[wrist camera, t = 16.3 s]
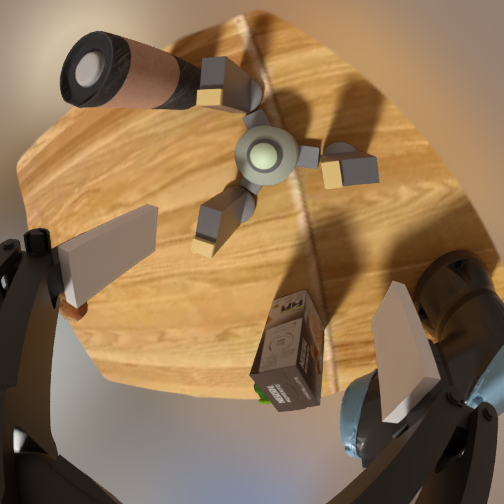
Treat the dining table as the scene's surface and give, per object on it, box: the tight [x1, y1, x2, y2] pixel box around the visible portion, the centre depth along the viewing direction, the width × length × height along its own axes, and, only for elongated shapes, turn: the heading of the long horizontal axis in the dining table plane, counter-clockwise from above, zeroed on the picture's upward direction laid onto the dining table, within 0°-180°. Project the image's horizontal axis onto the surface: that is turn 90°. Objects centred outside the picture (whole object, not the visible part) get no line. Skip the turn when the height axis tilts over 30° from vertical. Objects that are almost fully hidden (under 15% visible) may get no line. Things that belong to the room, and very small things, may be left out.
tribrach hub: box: [235, 109, 319, 195], centre depth 32 cm, size 12×11×7 cm
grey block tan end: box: [191, 186, 255, 258], centre depth 33 cm, size 5×5×12 cm
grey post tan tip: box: [196, 56, 263, 113], centre depth 27 cm, size 5×5×12 cm
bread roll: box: [59, 291, 87, 321], centre depth 58 cm, size 10×10×8 cm
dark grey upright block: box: [320, 142, 379, 189], centre depth 27 cm, size 5×5×12 cm
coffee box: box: [249, 290, 325, 412], centre depth 37 cm, size 9×6×16 cm
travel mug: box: [60, 31, 201, 110], centre depth 24 cm, size 8×8×20 cm
